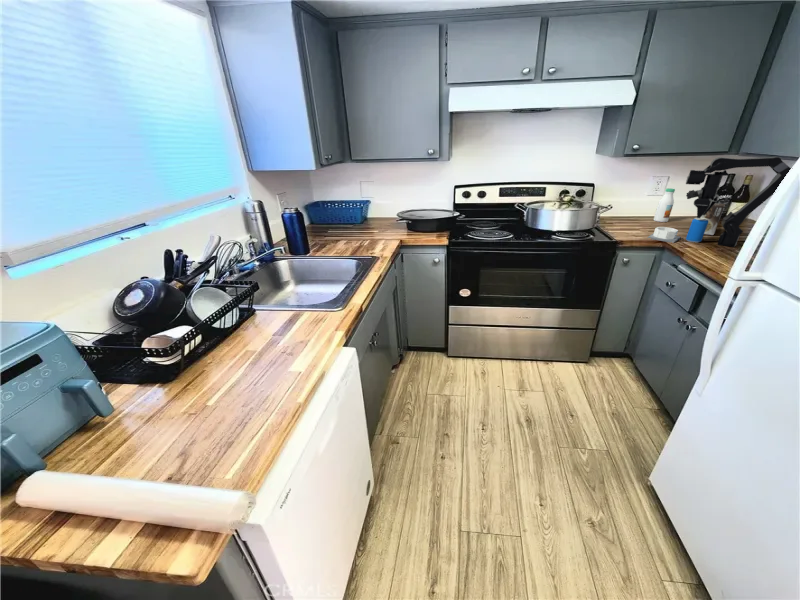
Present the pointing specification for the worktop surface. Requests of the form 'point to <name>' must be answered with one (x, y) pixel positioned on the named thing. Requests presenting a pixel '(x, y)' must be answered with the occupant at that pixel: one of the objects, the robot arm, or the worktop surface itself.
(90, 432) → the worktop surface
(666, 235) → the socket
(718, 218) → the coffee box
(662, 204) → the milk bottle
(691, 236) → the beverage can
